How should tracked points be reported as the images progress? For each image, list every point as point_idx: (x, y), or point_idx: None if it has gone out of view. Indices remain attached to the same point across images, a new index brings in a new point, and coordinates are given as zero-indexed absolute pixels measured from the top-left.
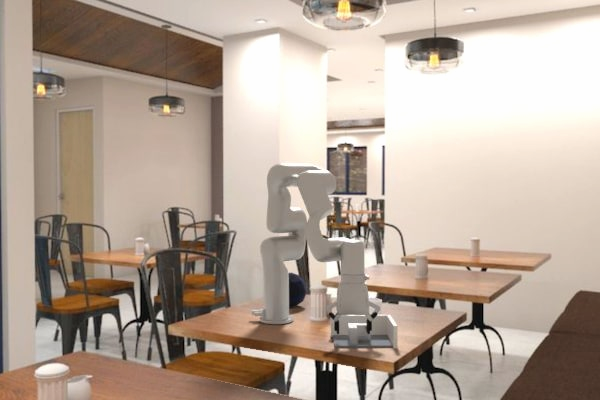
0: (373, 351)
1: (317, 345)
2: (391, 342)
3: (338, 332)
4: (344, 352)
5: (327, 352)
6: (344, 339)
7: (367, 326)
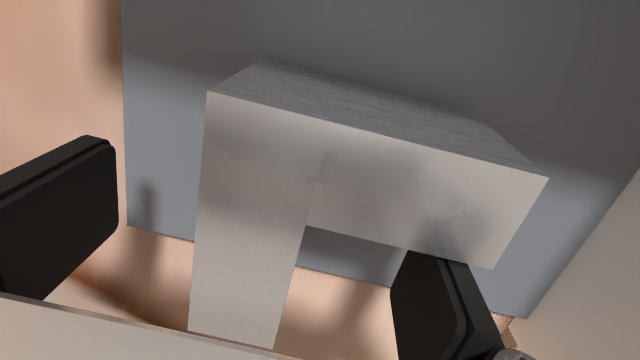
0: (358, 335)
1: (3, 129)
2: (566, 267)
3: (101, 237)
4: (188, 308)
5: (89, 284)
6: (225, 74)
7: (399, 350)
